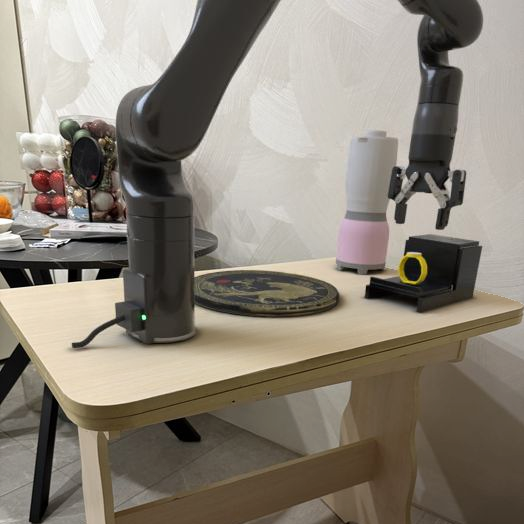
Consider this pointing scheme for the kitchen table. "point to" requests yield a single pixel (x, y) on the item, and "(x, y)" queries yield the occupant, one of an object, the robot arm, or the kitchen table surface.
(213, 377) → the kitchen table surface
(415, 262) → the black stepped block
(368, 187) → the blender
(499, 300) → the kitchen table surface
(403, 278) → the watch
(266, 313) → the decorative plate
